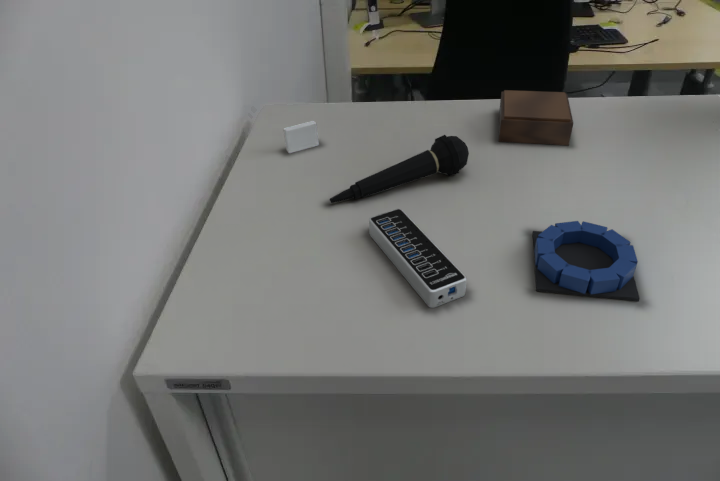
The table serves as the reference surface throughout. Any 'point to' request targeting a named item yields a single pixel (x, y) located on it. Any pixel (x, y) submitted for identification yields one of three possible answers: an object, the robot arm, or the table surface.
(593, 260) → the mat
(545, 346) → the table surface
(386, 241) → the multiport hub
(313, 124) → the eraser
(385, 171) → the microphone
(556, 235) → the ring
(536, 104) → the platform
